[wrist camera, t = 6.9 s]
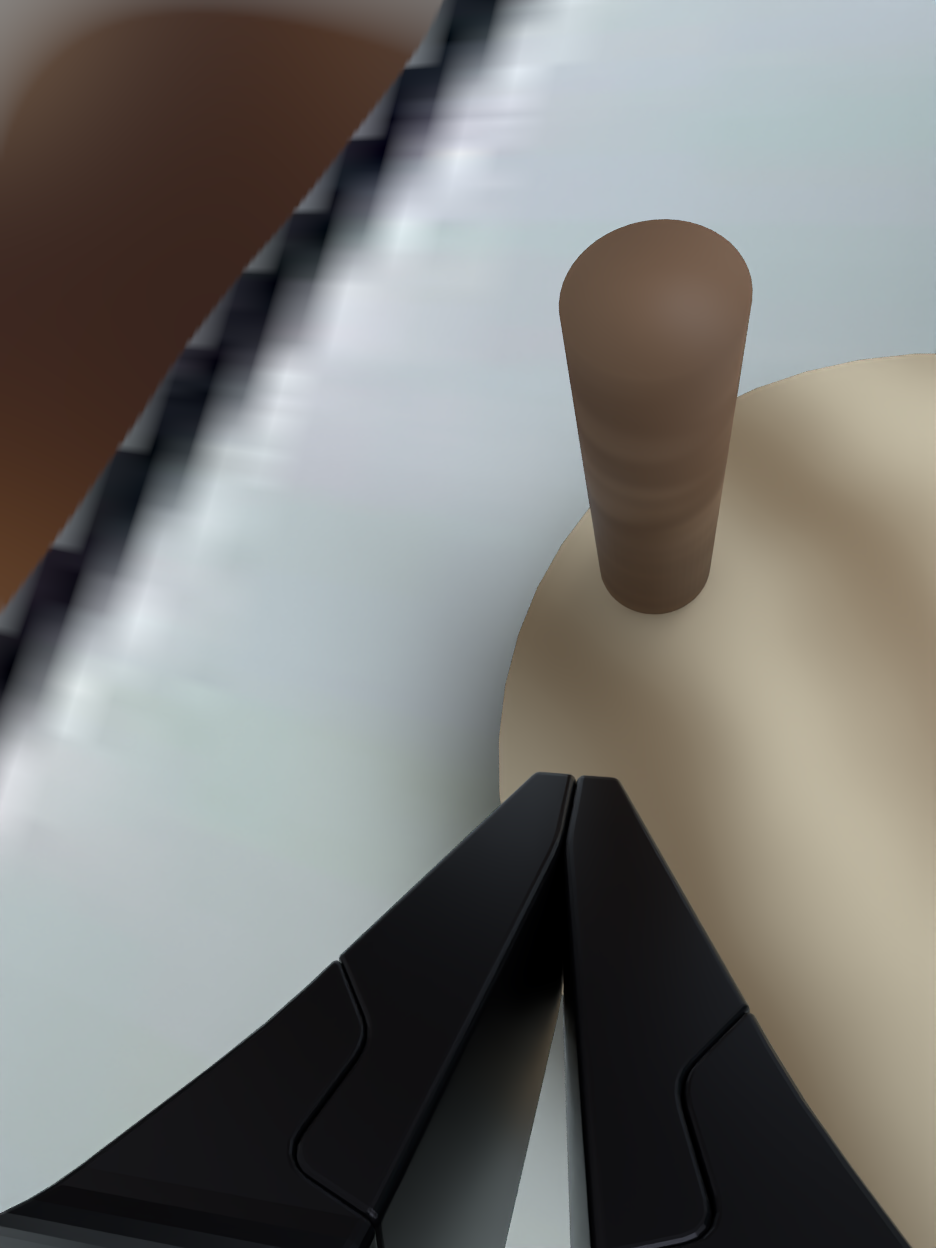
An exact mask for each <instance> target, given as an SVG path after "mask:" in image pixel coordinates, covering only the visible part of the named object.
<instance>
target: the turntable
mask: <svg viewBox="0 0 936 1248" xmlns="http://www.w3.org/2000/svg"><path fill="white" fill-rule="evenodd" d="M751 303H752V281H751V276H750V273H749V270H748V267H747V265H746V263H745V261H744V259H743V258H742V256H741V255H740V253H739V252H738V250H737V249H736V248H735V247H734V246H733V245H732V244H731V243H730V242H729V241H727V240H726V239H725V238H724V237H722V236H721V235H719V234H717V233H716V232H714V231H712V230H710V229H708V228H706V227H703V226H701V225H698V224H694V223H691V222H686V221H680V220H669V219H662V220H649V221H642V222H638V223H634V224H630V225H627V226H624V227H621V228H619V229H616V230H614V231H612V232H610V233H608V234H606V235H605V236H603V237H602V238H600V239H598V240H597V241H596V242H594V243H593V244H592V245H590V246H589V247H588V248H587V249H586V250H585V251H584V252H583V253H582V254H581V255H580V256H579V257H578V258H577V260H576V261H575V262H574V263H573V265H572V266H571V268H570V270H569V271H568V273H567V275H566V277H565V280H564V282H563V285H562V289H561V292H560V299H559V315H560V321H561V327H562V334H563V340H564V346H565V353H566V359H567V365H568V371H569V378H570V384H571V390H572V397H573V403H574V409H575V416H576V422H577V428H578V435H579V441H580V447H581V454H582V460H583V466H584V472H585V479H586V485H587V491H588V498H589V504H590V508H589V509H588V510H587V512H586V513H585V514H584V516H583V517H582V518H581V520H580V521H579V522H578V524H577V525H576V526H575V528H574V529H573V530H572V532H571V533H570V534H569V536H568V537H567V538H566V540H565V541H564V542H563V544H562V545H561V547H560V549H559V550H558V552H557V554H556V556H555V557H554V559H553V561H552V563H551V564H550V566H549V568H548V570H547V572H546V573H545V575H544V577H543V579H542V580H541V582H540V584H539V586H538V587H537V590H536V592H535V595H534V597H533V600H532V602H531V605H530V607H529V610H528V612H527V615H526V617H525V619H524V622H523V624H522V627H521V629H520V632H519V634H518V638H517V642H516V646H515V650H514V653H513V657H512V661H511V665H510V669H509V673H508V677H507V681H506V684H505V692H504V700H503V708H502V717H501V725H500V733H499V794H500V801H501V804H502V803H503V802H504V801H505V800H506V799H507V798H508V797H509V796H510V795H512V794H513V793H514V792H515V791H516V790H517V789H518V788H519V787H520V786H521V785H522V784H523V783H524V782H525V781H526V780H528V779H529V778H530V777H531V776H532V775H533V774H534V773H537V772H550V773H563V774H571V775H573V776H574V777H575V779H576V782H577V779H578V778H579V777H580V776H583V775H588V776H602V777H614V778H617V779H618V780H619V781H620V782H621V784H622V785H623V787H624V789H625V790H626V792H627V794H628V796H629V797H630V799H631V801H632V803H633V804H634V806H635V808H636V810H637V811H638V813H639V815H640V817H641V818H642V820H643V822H644V824H645V825H646V827H647V829H648V831H649V832H650V834H651V836H652V838H653V839H654V841H655V843H656V844H657V846H658V848H659V850H660V851H661V853H662V855H663V857H664V858H665V860H666V862H667V864H668V865H669V867H670V869H671V871H672V872H673V874H674V876H675V878H676V879H677V881H678V883H679V885H680V886H681V888H682V890H683V892H684V893H685V895H686V897H687V899H688V900H689V902H690V904H691V906H692V907H693V909H694V911H695V913H696V914H697V916H698V918H699V920H700V921H701V923H702V925H703V927H704V928H705V930H706V932H707V934H708V935H709V937H710V939H711V941H712V942H713V944H714V946H715V948H716V949H717V951H718V953H719V955H720V956H721V958H722V960H723V962H724V963H725V965H726V967H727V969H728V970H729V972H730V974H731V975H732V977H733V979H734V981H735V982H736V984H737V986H738V988H739V989H740V991H741V993H742V995H743V996H744V998H745V1000H746V1002H747V1003H748V1005H749V1007H750V1013H752V1014H754V1015H755V1017H756V1018H757V1020H758V1022H759V1024H760V1025H761V1027H762V1029H763V1031H764V1032H765V1034H766V1036H767V1038H768V1039H769V1041H770V1043H771V1045H772V1046H773V1048H774V1050H775V1052H776V1053H777V1055H778V1056H779V1058H780V1060H781V1061H782V1063H783V1064H784V1066H785V1068H786V1069H787V1071H788V1072H789V1074H790V1076H791V1077H792V1079H793V1081H794V1082H795V1084H796V1085H797V1087H798V1089H799V1090H800V1092H801V1093H802V1095H803V1097H804V1098H805V1100H806V1102H807V1103H808V1105H809V1106H810V1108H811V1109H812V1110H813V1112H814V1113H815V1115H816V1116H817V1117H818V1119H819V1120H820V1122H821V1123H822V1125H823V1126H824V1127H825V1129H826V1130H827V1132H828V1133H829V1134H830V1136H831V1137H832V1139H833V1140H834V1142H835V1143H836V1144H837V1146H838V1147H839V1149H840V1150H841V1151H842V1153H843V1154H844V1156H845V1157H846V1159H847V1160H848V1161H849V1163H850V1164H851V1166H852V1167H853V1168H854V1170H855V1171H856V1172H857V1174H858V1175H859V1176H860V1178H861V1179H862V1180H863V1182H864V1183H865V1184H866V1186H867V1187H868V1188H869V1190H870V1191H871V1193H872V1194H873V1195H874V1197H875V1198H876V1199H877V1201H878V1202H879V1203H880V1205H881V1206H882V1207H883V1209H884V1210H885V1211H886V1213H887V1214H888V1215H889V1217H890V1218H891V1219H892V1221H893V1222H894V1223H895V1225H896V1226H897V1228H898V1229H899V1230H900V1232H901V1233H902V1234H903V1236H904V1237H905V1238H906V1240H907V1241H908V1242H909V1244H910V1245H911V1246H912V1248H936V354H908V355H899V356H890V357H881V358H872V359H863V360H857V361H852V362H847V363H843V364H838V365H834V366H829V367H825V368H820V369H815V370H811V371H806V372H803V373H800V374H797V375H794V376H792V377H789V378H786V379H783V380H780V381H777V382H774V383H771V384H768V385H765V386H762V387H759V388H756V389H754V390H752V391H750V392H747V393H745V394H743V395H741V396H739V397H737V393H738V387H739V380H740V374H741V367H742V361H743V355H744V348H745V342H746V335H747V329H748V323H749V316H750V310H751ZM562 995H563V988H562Z"/></svg>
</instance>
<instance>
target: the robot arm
mask: <svg viewBox="0 0 936 1248" xmlns="http://www.w3.org/2000/svg"><path fill="white" fill-rule="evenodd" d="M562 988H563V1026H564V1057H565V1088H566V1120H567V1151H568V1182H569V1213H570V1244H571V1248H912V1246H911V1245H910V1244H909V1242H908V1241H907V1240H906V1238H905V1237H904V1236H903V1234H902V1233H901V1232H900V1230H899V1229H898V1228H897V1226H896V1225H895V1223H894V1222H893V1221H892V1219H891V1218H890V1217H889V1215H888V1214H887V1213H886V1211H885V1210H884V1209H883V1207H882V1206H881V1205H880V1203H879V1202H878V1201H877V1199H876V1198H875V1197H874V1195H873V1194H872V1193H871V1191H870V1190H869V1188H868V1187H867V1186H866V1184H865V1183H864V1182H863V1180H862V1179H861V1178H860V1176H859V1175H858V1174H857V1172H856V1171H855V1170H854V1168H853V1167H852V1166H851V1164H850V1163H849V1161H848V1160H847V1159H846V1157H845V1156H844V1154H843V1153H842V1151H841V1150H840V1149H839V1147H838V1146H837V1144H836V1143H835V1142H834V1140H833V1139H832V1137H831V1136H830V1134H829V1133H828V1132H827V1130H826V1129H825V1127H824V1126H823V1125H822V1123H821V1122H820V1120H819V1119H818V1117H817V1116H816V1115H815V1113H814V1112H813V1110H812V1109H811V1108H810V1106H809V1105H808V1103H807V1102H806V1100H805V1098H804V1097H803V1095H802V1093H801V1092H800V1090H799V1089H798V1087H797V1085H796V1084H795V1082H794V1081H793V1079H792V1077H791V1076H790V1074H789V1072H788V1071H787V1069H786V1068H785V1066H784V1064H783V1063H782V1061H781V1060H780V1058H779V1056H778V1055H777V1053H776V1052H775V1050H774V1048H773V1046H772V1045H771V1043H770V1041H769V1039H768V1038H767V1036H766V1034H765V1032H764V1031H763V1029H762V1027H761V1025H760V1024H759V1022H758V1020H757V1018H756V1017H755V1015H754V1014H752V1013H750V1007H749V1005H748V1003H747V1002H746V1000H745V998H744V996H743V995H742V993H741V991H740V989H739V988H738V986H737V984H736V982H735V981H734V979H733V977H732V975H731V974H730V972H729V970H728V969H727V967H726V965H725V963H724V962H723V960H722V958H721V956H720V955H719V953H718V951H717V949H716V948H715V946H714V944H713V942H712V941H711V939H710V937H709V935H708V934H707V932H706V930H705V928H704V927H703V925H702V923H701V921H700V920H699V918H698V916H697V914H696V913H695V911H694V909H693V907H692V906H691V904H690V902H689V900H688V899H687V897H686V895H685V893H684V892H683V890H682V888H681V886H680V885H679V883H678V881H677V879H676V878H675V876H674V874H673V872H672V871H671V869H670V867H669V865H668V864H667V862H666V860H665V858H664V857H663V855H662V853H661V851H660V850H659V848H658V846H657V844H656V843H655V841H654V839H653V838H652V836H651V834H650V832H649V831H648V829H647V827H646V825H645V824H644V822H643V820H642V818H641V817H640V815H639V813H638V811H637V810H636V808H635V806H634V804H633V803H632V801H631V799H630V797H629V796H628V794H627V792H626V790H625V789H624V787H623V785H622V784H621V782H620V781H619V780H618V779H617V778H614V777H602V776H588V775H583V776H580V777H579V778H578V779H577V782H576V779H575V777H574V776H573V775H571V774H563V773H550V772H537V773H534V774H533V775H532V776H531V777H530V778H529V779H528V780H526V781H525V782H524V783H523V784H522V785H521V786H520V787H519V788H518V789H517V790H516V791H515V792H514V793H513V794H512V795H510V796H509V797H508V798H507V799H506V800H505V801H504V802H503V803H502V804H501V805H500V806H499V807H498V808H497V809H496V810H494V811H493V812H492V813H491V814H490V815H489V816H488V817H487V818H486V819H485V820H484V821H483V822H482V823H481V824H480V825H478V826H477V827H476V828H475V829H474V830H473V831H472V832H471V833H470V834H469V835H468V836H467V837H466V838H465V839H464V840H463V841H461V842H460V843H459V844H458V845H457V846H456V847H455V848H454V849H453V850H452V851H451V852H450V853H449V854H448V855H447V856H445V857H444V858H443V859H442V860H441V861H440V862H439V863H438V864H437V865H436V866H435V867H434V868H433V869H432V870H431V871H429V872H428V873H427V874H426V875H425V876H424V877H423V878H422V879H421V880H420V881H419V882H418V883H417V884H416V885H415V886H413V887H412V888H411V889H410V890H409V891H408V892H407V893H406V894H405V895H404V896H403V897H402V898H401V899H400V900H399V901H398V902H396V903H395V904H394V905H393V906H392V907H391V908H390V909H389V910H388V911H387V912H386V913H385V914H384V915H383V916H382V917H380V918H379V919H378V920H377V921H376V922H375V923H374V924H373V925H372V926H371V927H370V928H369V929H368V930H367V931H366V932H364V933H363V934H362V935H361V936H360V937H359V938H358V939H357V940H356V941H355V942H354V943H353V944H352V945H351V946H350V947H348V948H347V949H346V950H345V951H344V952H343V953H342V954H341V955H340V957H339V961H333V962H332V963H331V964H330V965H329V966H328V967H327V968H326V969H325V970H323V971H322V972H321V973H320V974H319V975H318V976H317V977H316V978H315V979H314V980H313V981H312V982H311V983H310V984H309V985H307V986H306V987H305V988H304V989H303V990H302V991H301V992H300V993H298V994H297V995H296V996H295V997H294V998H293V999H292V1000H291V1001H289V1002H288V1003H287V1004H286V1005H285V1006H284V1007H283V1008H282V1009H280V1010H279V1011H278V1012H277V1013H276V1014H275V1015H274V1016H272V1017H271V1018H270V1019H269V1020H268V1021H267V1022H266V1023H265V1024H263V1025H262V1026H261V1027H260V1028H258V1029H257V1030H256V1031H255V1032H253V1033H252V1034H251V1035H250V1036H248V1037H247V1038H246V1039H245V1040H243V1041H242V1042H241V1043H240V1044H238V1045H237V1046H236V1047H234V1048H233V1049H232V1050H231V1051H229V1052H228V1053H227V1054H226V1055H224V1056H223V1057H222V1058H221V1059H219V1060H218V1061H217V1062H216V1063H214V1064H213V1065H212V1066H211V1067H209V1068H208V1069H207V1070H205V1071H204V1072H203V1073H201V1074H200V1075H199V1076H197V1077H196V1078H195V1079H193V1080H192V1081H191V1082H189V1083H188V1084H187V1085H186V1086H184V1087H183V1088H182V1089H180V1090H179V1091H178V1092H176V1093H175V1094H174V1095H172V1096H171V1097H170V1098H168V1099H167V1100H166V1101H164V1102H163V1103H162V1104H160V1105H159V1106H158V1107H157V1108H155V1109H154V1110H153V1111H151V1112H150V1113H149V1114H147V1115H146V1116H145V1117H143V1118H142V1119H141V1120H139V1121H138V1122H137V1123H135V1124H134V1125H133V1126H131V1127H130V1128H129V1129H128V1130H126V1131H125V1132H124V1133H122V1134H121V1135H120V1136H118V1137H117V1138H116V1139H114V1140H113V1141H112V1142H110V1143H109V1144H108V1145H106V1146H105V1147H104V1148H102V1149H101V1150H100V1151H99V1152H97V1153H96V1154H95V1155H93V1156H92V1157H91V1158H89V1159H88V1160H87V1161H85V1162H84V1163H83V1164H81V1165H80V1166H79V1167H77V1168H76V1169H74V1170H73V1171H72V1172H70V1173H69V1174H67V1175H66V1176H64V1177H63V1178H62V1179H60V1180H59V1181H57V1182H56V1183H55V1184H53V1185H51V1186H50V1187H48V1188H46V1189H45V1190H43V1191H41V1192H40V1193H38V1194H36V1195H35V1196H33V1197H31V1198H30V1199H28V1200H26V1201H24V1202H22V1203H20V1204H18V1205H16V1206H14V1207H12V1208H10V1209H8V1210H6V1211H4V1212H2V1213H0V1248H505V1244H506V1240H507V1235H508V1231H509V1227H510V1222H511V1218H512V1214H513V1209H514V1205H515V1200H516V1196H517V1192H518V1187H519V1183H520V1179H521V1174H522V1170H523V1166H524V1161H525V1157H526V1152H527V1148H528V1144H529V1139H530V1135H531V1131H532V1126H533V1122H534V1118H535V1113H536V1109H537V1105H538V1100H539V1096H540V1091H541V1087H542V1083H543V1078H544V1074H545V1070H546V1065H547V1061H548V1057H549V1052H550V1048H551V1043H552V1039H553V1035H554V1030H555V1026H556V1022H557V1017H558V1012H559V1007H560V1001H561V996H562Z"/></svg>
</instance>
